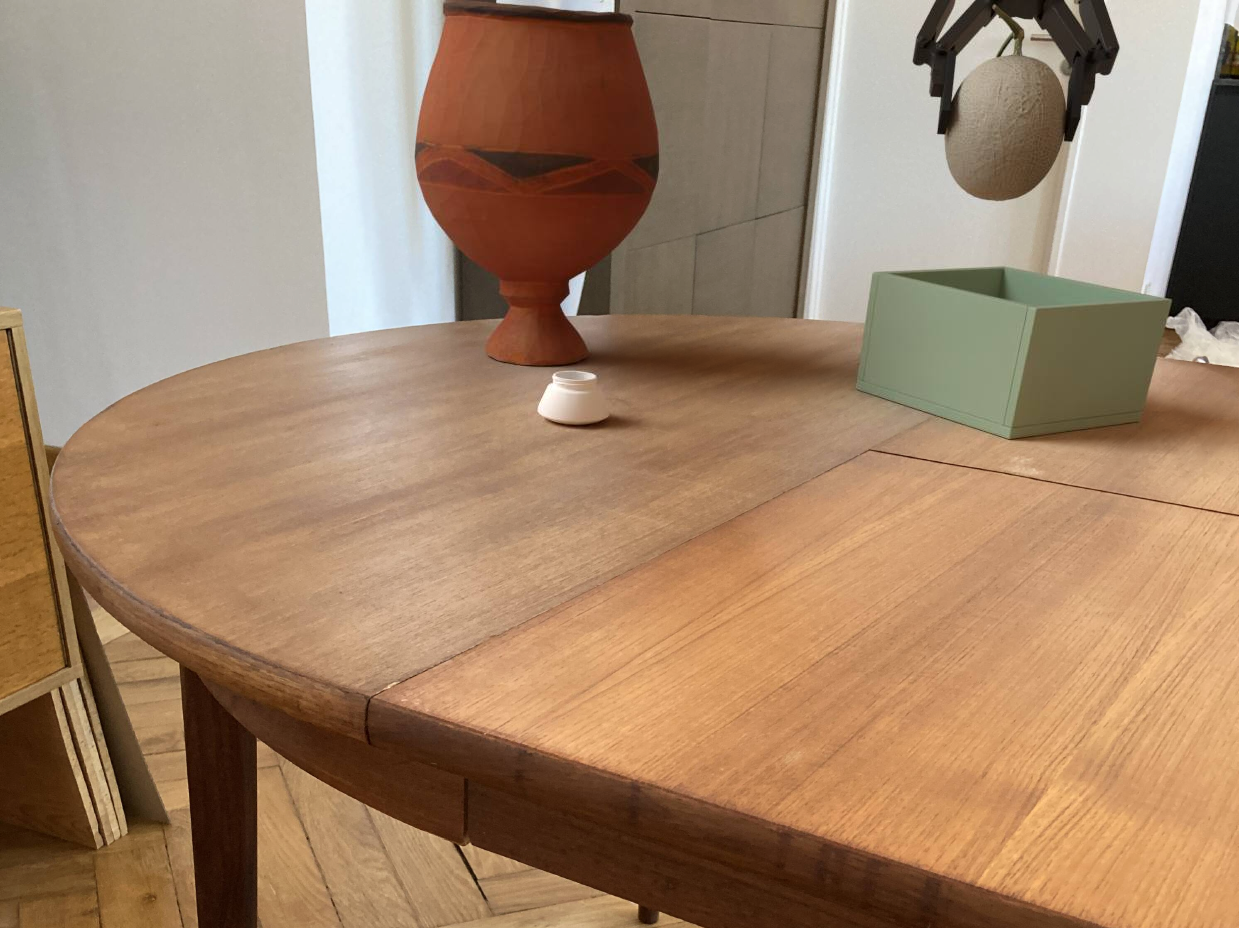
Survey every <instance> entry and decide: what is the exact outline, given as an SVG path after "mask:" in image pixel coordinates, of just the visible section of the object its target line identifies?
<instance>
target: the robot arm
mask: <svg viewBox="0 0 1239 928" xmlns="http://www.w3.org/2000/svg"><path fill="white" fill-rule="evenodd" d="M1073 3H1074V5H1078V13H1079V17H1080V20H1081V23H1080V21H1079V20H1078V18H1077V17H1076V16H1075V14H1074V13H1073V11H1072V10H1071V8H1070V7H1069V5H1068V4H1067V2H1066V1H1065V0H973V2H972V3H971V4H970V5H969V6H968V7H967V8H966V10H964V11H963V13H962V14H961V15H960V16H959V17H958V18H957V19H956V21H954V23H953V24H952V25H950V27H949V28H948V29H947V31H945V33H944V34H943V35H941V36H940V34H941V33H942V31H943V29H944V27H945V25H946V23H947V22H948V20H949V18H950V16H951V14H952V12H953V10H954V7H955V4H956V0H934V3H933V4H932V6H931V8H930V10H929V12H928V14H927V16H926V17H925V20H924V21H923V23H922V25H921V27H920V29H919V31H918V33H917V34H916V38H915V44H914V49H913V54H912V63H913V64H914V65H915V66H918V67H920V66H924V65H927V66H929V68H930V72H929V73H930V74H929V75H930V80H929V89H928V90H929V91H928V93H929V96H930V98H940V103H939V111H938V112H939V113H938V122H937V132H936V134H937V135H945V134H946V130H947V125H948V120H949V116H950V111H951V102H952V99H953V93H954V84H955V83H954V82H955V73H956V72H955V71H956V64H957V61H956V60H957V57H958V55H959V54H960V53H961V52H962V51H963V50H964V48H965V47H966V46H967V45H968V44H969V43H970V42H971V41H972V40H973V38H975V36H976V35H977V34H979V32H980V31H981V30H982V29H983V28H986V27H988V25H990V23H991V22H992V21H993V20H994V19H995V18H996V17H997V16H998V14H997V13H996V12H995V10H994V9H993V5H995V4H996V5H997V6H998V7H999V8H1000V9H1001V10H1002V11H1003V12H1004V13H1005V14H1007V15H1008V16H1009V17H1011V18H1012V19H1014V18H1018V19H1022V20H1028V21H1029V20H1031V21H1033V20H1035V22H1036V24H1037V25H1038V27H1039V28H1040V29H1041V30H1042V31H1045V30H1046V32H1047V33H1048V35H1049V37H1050V38H1051V39H1052V41H1053V43H1054V44H1055V45H1056V47H1057V48H1058V50H1059V52H1060V53H1061V54H1062V56H1063V57H1064V59H1065V60H1066V61H1067V63H1068V65H1069V66H1070V67H1071V73H1070V75H1069V78H1068V83H1067V92H1066V93H1067V96H1066V125H1065V133H1064V137H1063V142H1066V143H1067V142H1068V143H1073V141H1074V138H1075V136H1076V133H1077V129H1078V127H1079V123H1080V122H1081V118H1082V108H1083V107H1082V106H1085V107H1086V106H1089V105H1090V102H1091V100H1092V97H1093V94H1094V92H1095V88H1096V75H1097V74H1099V75H1101V76H1108V75H1111V73H1112V72H1113V71H1112V70H1113V68H1114V66H1115V63H1116V60H1117V58H1118V54H1119V51H1120V49H1121V48H1120V44H1119V41H1118V38H1117V35H1116V34H1117V33H1116V31H1115V28H1114V25H1113V23H1112V20H1111V16H1110V14H1109V11H1108V8H1107V4H1106V1H1105V0H1073ZM998 19H1001V18H1000V17H999V16H998ZM1081 24H1082V25H1081ZM939 37H940V38H939Z"/></svg>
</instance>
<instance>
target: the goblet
mask: <svg viewBox="0 0 1239 928" xmlns="http://www.w3.org/2000/svg"><path fill="white" fill-rule="evenodd" d="M442 14H443V15H444V17H445V19H444V22H443V26H442V30H441V35H440V39H439V42H438V43H439V44H438V47H437V50H436V54H435V56H434V59H433V62H432V64H431V68H430V71H429V73H428V78H427V80H426V84H425V87H424V92H423V93H422V99H421V104H420V109H419V115H418V119H417V126H416V134H415V135H416V136H415V143H414V144H415V145H414V164H415V172H416V179H417V183H418V186H419V188H420V191H421V194H422V197H423V200H424V203H425V204H426V206H427V208H428V210H429V212H430V214H431V216H432V217H433V219H434V220H435V222H436V223H437V224H438V226H439V227H440V228H441V230H442V231H443V232H444V234H445V235H446V236H447V237H448V239H449V240H450V241H451V242H452V243H453V244H454V245H455V247H457V249H459V251H461V253H462V254H464V256H465V257H467V258H468V259H469V260H471V261H472V262H474V263H475V264H476V265H478V266H480V267H481V268H482V269H484V270H485V271H487V272H488V273H490V274H492V275H493V276H495V277H496V278H498V280H499V292H498V293H499V295H500V296H501V297H502V298H503V299H504V300H505V301H506V303H507V304H508V306H509V308H508V311H507V313H506V315H505V317H504V318H503V319H502V321H501V322H500V323H499V324H498V326H497V327H496V328H495V329H494V331H493V332H492V334H491V335H490V337H489V338H488V340H487V342H486V344H485V349H484V350H485V351H484V352H485V354H486V355H487V356H488V357H490V358H492V359H494V360H497V361H500V362H504V363H509V364H514V365H520V366H540V367H544V366H545V367H546V366H547V367H548V366H562V365H563V366H564V365H569V364H575V363H578V362H580V361H582V360H585V359H586V358H588V356H589V350H588V347H587V344H586V342H585V340H584V339H583V337H582V336H581V334H580V333H579V331H578V330H577V328H576V327H575V326H574V325H573V323H572V322H571V321H570V320H569V319H568V317H567V316H566V314H565V312H564V310H563V308H562V306H561V304H562V303H563V302H564V301H565V300H566V299H567V298H568V297H569V296H570V295H571V292H570V281H571V280H573V279H574V278H576V277H578V276H579V275H581V274H583V273H585V272H586V271H589V270H590V269H592V268H593V267H595V266H596V265H597V264H599V263H600V262H602V260H604V259H605V258H606V257H607V256H608V255H610V254H611V253H613V251H615V249H617V248H618V247H619V245H620V244H621V243H622V242H623V241H624V240H625V239H626V238H627V237H628V236H629V235H630V233H631V232H632V231H633V230H634V229H635V227H636V226H637V225H638V223H639V222H640V221H641V219H642V218H643V216H644V215H645V213H646V211H647V209H648V207H649V205H650V203H651V200H652V198H653V194H654V192H655V189H656V187H657V184H658V179H659V173H660V144H659V130H658V126H657V119H656V115H655V110H654V106H653V101H652V96H651V92H650V89H649V86H648V81H647V78H646V76H645V75H646V74H645V71H644V68H643V65H642V60H641V58H640V55H639V51H638V47H637V44H636V40H635V37H634V33H633V30H632V27H633V25H634V21H635V20H634V19H633V17H632V15H631V14H628V13H623V12H621V11H619V12H618V11H617V12H615V11H599V12H598V11H593V10H571V9H561V8H553V7H545V6H540V5H539V6H538V5H526V4H514V3H500V2H494V1H493V2H492V1H483V0H445V1H444V2H443V3H442Z"/></svg>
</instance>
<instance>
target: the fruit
mask: <svg viewBox="0 0 1239 928" xmlns="http://www.w3.org/2000/svg"><path fill="white" fill-rule="evenodd" d="M993 9H994V10H995V12H996V13H997V14H998V15H997V16H998V18H999V17H1000V18H999V19H1001V20H1003V22H1004V23H1005V24H1006V25H1007V26H1008V28H1009V29H1010V31H1011V33H1010V34H1009V35H1008V36H1007V38H1006V39H1005V40H1004V42H1002V45H1001V47H1000V48H999V50H998V51H997V54H996V55H995V57H993V58H991V59H987V60H985V61H984V62H982V63H979V65H977V66H975V68H974V69H972V70H970V72H969V73H968V74H967V76H966V77H965V78H964V79H963V80H962V81H961V83H960V85H959V86H958V88H957V89H956V91H955V93H954V95H953V96H952V102H951V111H950V116H949V120H948V125H947V130H946V134H945V135H944V136H943V137H944V138H943V140H944V151H945V159H946V163H947V167H948V170H949V172H950V175H951V177H952V178H953V180H954V182H955V183H956V184H957V185H958V186H959V188H961V189H962V190H963V191H965V192H966V194H968V195H970V196H972V197H974V198H977V199H979V200H985V201H994V202H1005V201H1010V200H1014V199H1019V198H1020V197H1023V196H1024V195H1027V194H1028V193H1030V192H1031V191H1032V190H1034V189H1035V188H1036V187H1037V186H1038V185H1039V184H1041V182H1042V181H1043V180H1044V179H1045V178H1046V177H1047V176H1048V174H1049V172H1050V171H1051V169H1052V168H1053V166H1054V164H1055V162H1056V160H1057V158H1058V155H1059V153H1060V151H1061V147H1062V145H1063V142H1064V133H1065V125H1066V106H1067V101H1066V97H1065V92H1064V89H1063V86H1062V84H1061V82H1060V79H1059V77H1058V76H1057V75H1056V74H1057V73H1055V71H1054V70H1053V68H1051V67H1050V66H1049V64H1047V63H1046V62H1044V61H1042V60H1040V59H1038V58H1036V57H1032V56H1026V55H1023V51H1022V48H1023V42H1024V40H1025V29H1024V28H1023V27H1022V26H1021V25H1020V24H1019V23H1018V22H1017V21H1016V20H1015V19H1014V18H1011V17H1009V16H1008V15H1007V14H1005V13H1004V12H1003V11H1002V10H1001V9H1000V8H999V7H998V6H997V5H996V4H995V5H993ZM1012 40H1014V44H1013V45H1014V47H1013V53H1012V54H1009V55H1003V53H1004V51H1005V50H1006V49H1007V47H1008V46H1009V45H1010V43H1011V41H1012Z"/></svg>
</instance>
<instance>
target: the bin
mask: <svg viewBox="0 0 1239 928" xmlns="http://www.w3.org/2000/svg"><path fill="white" fill-rule="evenodd" d="M869 288H870V289H869V293H868V301H867V309H866V315H865V321H864V328H863V334H862V335H863V337H862V342H861V348H860V349H861V350H860V355H859V362H858V363H859V364H858V371H857V376H856V377H857V379H856V382H855V383H856V385H855V390H857V391H859V392H860V391H861V392H862V393H866V394H869V395H873V396H875V397H878V398H881V399H884V400H888V401H891V402H893V403H897V404H900V405H903V406H905V407H909V408H911V409H915V410H918V411H920V412H921V411H922V412H924V413H927V414H931V415H934V416H937V417H939V418H942V419H946V420H948V421H952V422H955V423H957V424H961V425H964V426H968V427H970V428H973V429H977V430H978V431H979V430H980V431H983V432H985V433H988V434H992V435H995V436H998V437H1001V438H1003V439H1007V440H1013V439H1022V438H1029V437H1035V436H1043V435H1049V434H1051V435H1052V434H1057V433H1065V432H1071V431H1078V430H1079V431H1080V430H1086V429H1094V428H1095V429H1096V428H1102V427H1109V426H1115V425H1117V426H1118V425H1123V424H1131V423H1138V422H1141V420H1142V416H1143V411H1144V409H1145V405H1146V401H1147V397H1148V393H1149V390H1150V386H1151V382H1152V378H1153V374H1154V371H1155V367H1156V362H1157V359H1158V355H1159V352H1160V348H1161V345H1162V340H1163V336H1164V333H1165V329H1166V326H1167V322H1168V318H1169V314H1170V310H1171V306H1172V303H1173V300H1172V299H1171V298H1166V297H1162V296H1157V295H1152V294H1146V293H1141V292H1138V291H1137V292H1136V291H1131V290H1126V289H1121V288H1116V287H1112V286H1111V287H1110V286H1105V285H1102V284H1101V285H1100V284H1095V283H1090V282H1086V281H1081V280H1075V279H1070V278H1066V277H1061V276H1056V275H1051V274H1044V273H1040V272H1035V271H1029V270H1025V269H1019V268H1014V267H1010V266H1004V265H1003V266H1001V265H1000V266H982V267H981V266H980V267H979V266H978V267H957V268H935V269H934V268H933V269H931V268H930V269H911V270H910V269H909V270H889V271H888V270H887V271H873V272H872V273H871V281H870V287H869Z"/></svg>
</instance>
